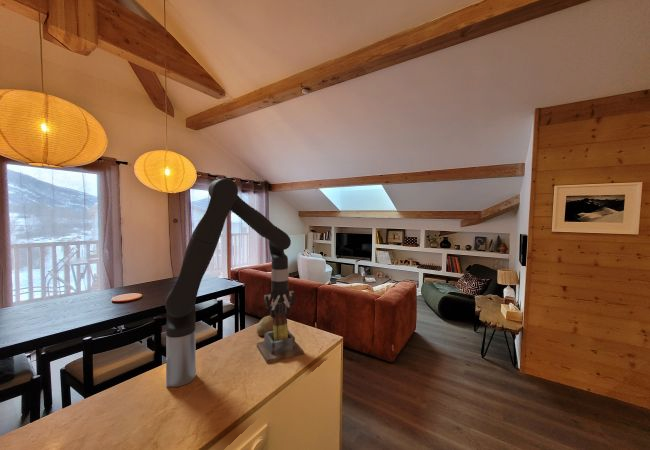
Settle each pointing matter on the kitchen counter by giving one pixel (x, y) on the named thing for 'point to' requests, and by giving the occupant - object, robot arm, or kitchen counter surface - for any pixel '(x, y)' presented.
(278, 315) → the sauce bottle
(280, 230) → the robot arm
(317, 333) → the kitchen counter surface
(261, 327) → the bread roll
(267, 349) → the grey open box
